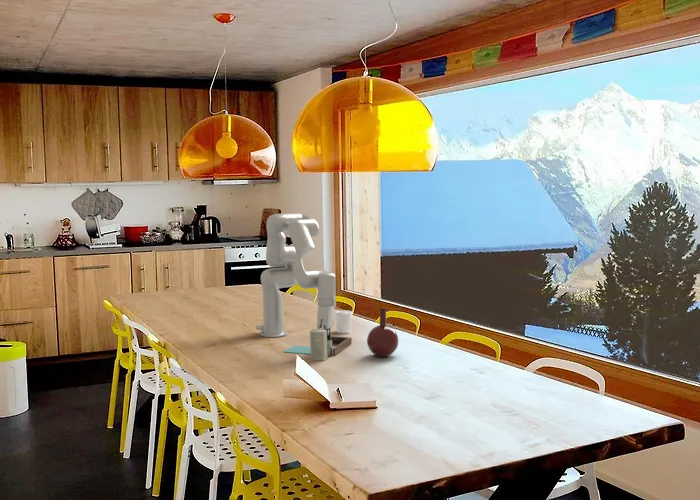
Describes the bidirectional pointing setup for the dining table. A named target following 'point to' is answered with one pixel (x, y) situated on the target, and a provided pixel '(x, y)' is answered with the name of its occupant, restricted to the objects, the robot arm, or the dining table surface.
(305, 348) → the coaster
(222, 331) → the dining table surface
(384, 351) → the round-bottom flask
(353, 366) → the dining table surface
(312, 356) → the skincare box
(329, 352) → the brushed steel block
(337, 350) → the brown rectangular frame
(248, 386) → the dining table surface
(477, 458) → the dining table surface
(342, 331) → the white cup
